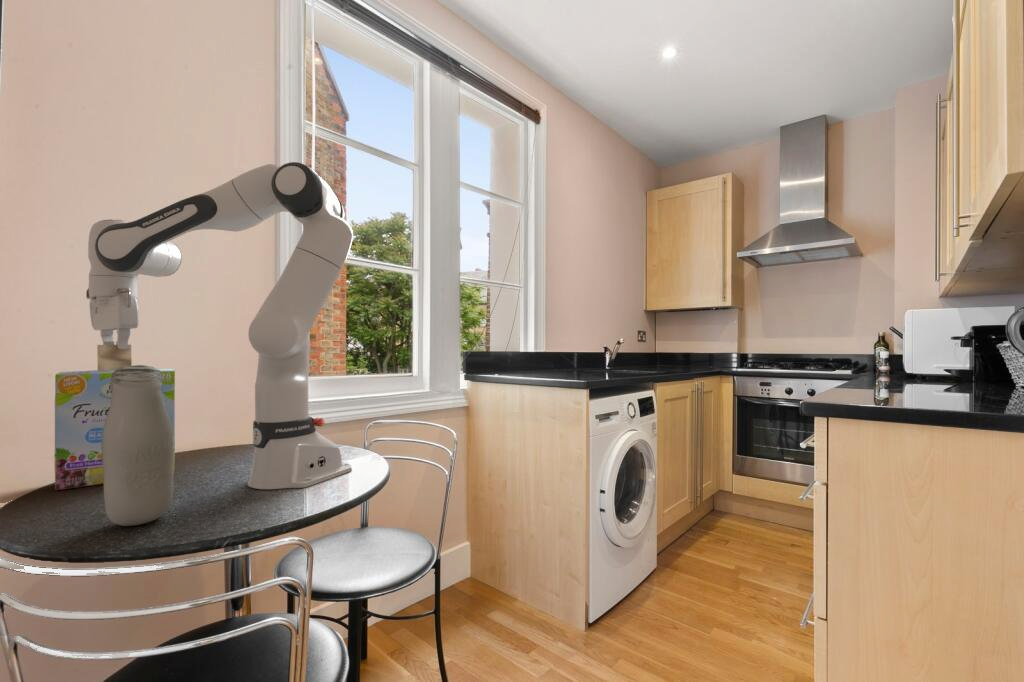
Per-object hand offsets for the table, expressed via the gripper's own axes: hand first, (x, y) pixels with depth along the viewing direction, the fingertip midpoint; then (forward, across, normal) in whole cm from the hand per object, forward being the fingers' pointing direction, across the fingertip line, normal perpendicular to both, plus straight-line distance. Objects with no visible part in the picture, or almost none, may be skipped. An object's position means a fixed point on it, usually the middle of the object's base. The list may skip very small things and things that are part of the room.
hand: (115, 349), depth 112 cm
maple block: (+5, 0, 0) cm, 5 cm away
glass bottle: (+31, -38, +7) cm, 49 cm away
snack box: (+31, 0, 0) cm, 31 cm away
